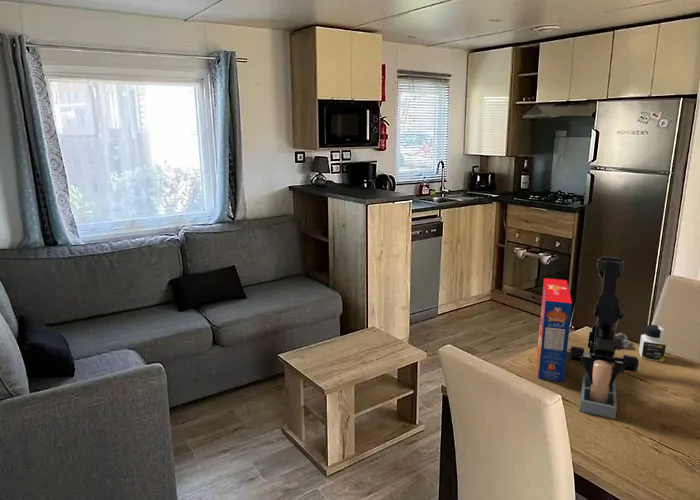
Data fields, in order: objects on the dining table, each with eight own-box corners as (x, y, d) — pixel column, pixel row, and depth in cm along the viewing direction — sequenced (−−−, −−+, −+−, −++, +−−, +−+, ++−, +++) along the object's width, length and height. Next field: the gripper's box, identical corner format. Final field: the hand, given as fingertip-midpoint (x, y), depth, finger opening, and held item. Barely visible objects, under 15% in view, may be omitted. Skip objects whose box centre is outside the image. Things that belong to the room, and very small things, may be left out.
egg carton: (624, 342, 204) (626, 332, 203) (630, 350, 197) (631, 340, 196) (596, 339, 206) (597, 330, 205) (600, 347, 199) (602, 337, 198)
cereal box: (537, 346, 199) (544, 278, 193) (559, 349, 196) (566, 280, 190) (538, 378, 173) (545, 300, 167) (563, 382, 171) (572, 303, 164)
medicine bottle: (641, 358, 188) (645, 328, 186) (638, 351, 195) (642, 322, 192) (663, 362, 186) (668, 331, 183) (660, 354, 192) (664, 324, 189)
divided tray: (581, 384, 169) (583, 374, 168) (614, 390, 165) (615, 381, 164) (579, 410, 153) (580, 400, 152) (615, 418, 149) (616, 408, 148)
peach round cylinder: (585, 400, 156) (590, 361, 153) (597, 397, 158) (602, 359, 155) (598, 408, 152) (603, 368, 149) (610, 405, 154) (616, 365, 150)
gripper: (573, 321, 157) (567, 369, 150) (642, 332, 149) (639, 383, 142) (572, 336, 166) (566, 382, 158) (637, 347, 158) (634, 395, 151)
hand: (600, 385), depth 152 cm, fingers closed on peach round cylinder, 5 cm apart
